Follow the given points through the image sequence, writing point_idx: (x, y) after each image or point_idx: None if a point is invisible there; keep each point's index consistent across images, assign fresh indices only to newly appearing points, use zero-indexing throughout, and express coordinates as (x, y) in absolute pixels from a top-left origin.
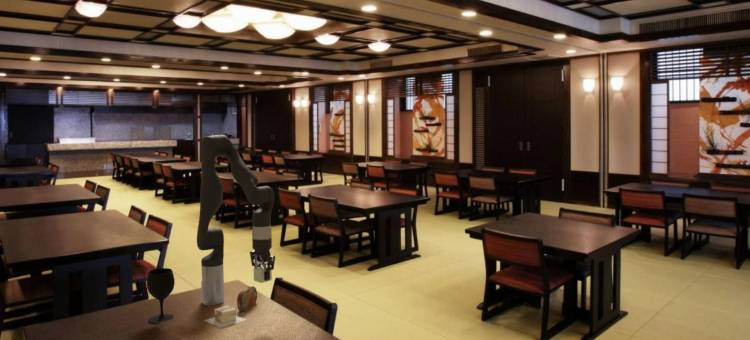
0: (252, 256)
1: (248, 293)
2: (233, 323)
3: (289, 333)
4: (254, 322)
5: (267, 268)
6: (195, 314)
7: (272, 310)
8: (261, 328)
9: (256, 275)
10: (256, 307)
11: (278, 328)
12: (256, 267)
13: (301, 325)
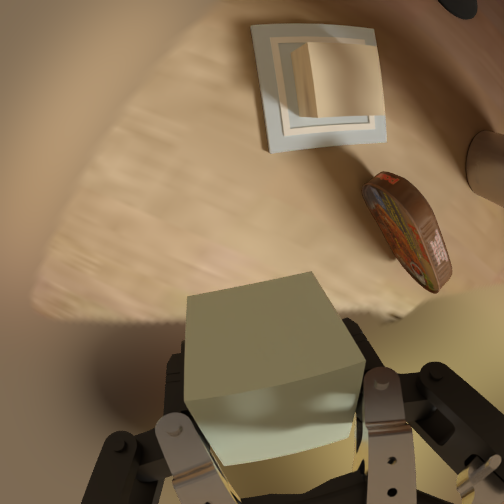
0: (487, 449)
1: (419, 250)
2: (264, 86)
3: (53, 236)
4: (232, 170)
5: (121, 454)
6: (444, 60)
7: None
8: (147, 167)
9: (280, 319)
10: (372, 249)
11: (111, 224)
12: (362, 388)
13: (102, 298)
